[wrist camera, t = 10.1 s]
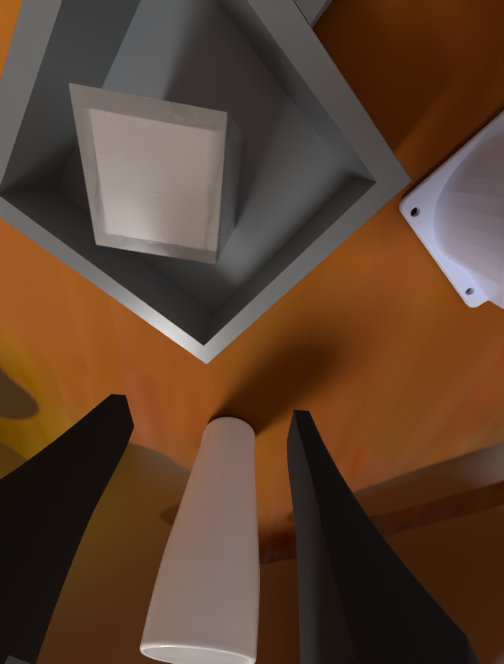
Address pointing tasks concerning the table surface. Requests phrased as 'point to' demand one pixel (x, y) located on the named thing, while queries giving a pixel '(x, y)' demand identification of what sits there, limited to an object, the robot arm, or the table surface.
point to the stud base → (312, 9)
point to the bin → (207, 92)
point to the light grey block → (158, 173)
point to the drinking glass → (211, 559)
